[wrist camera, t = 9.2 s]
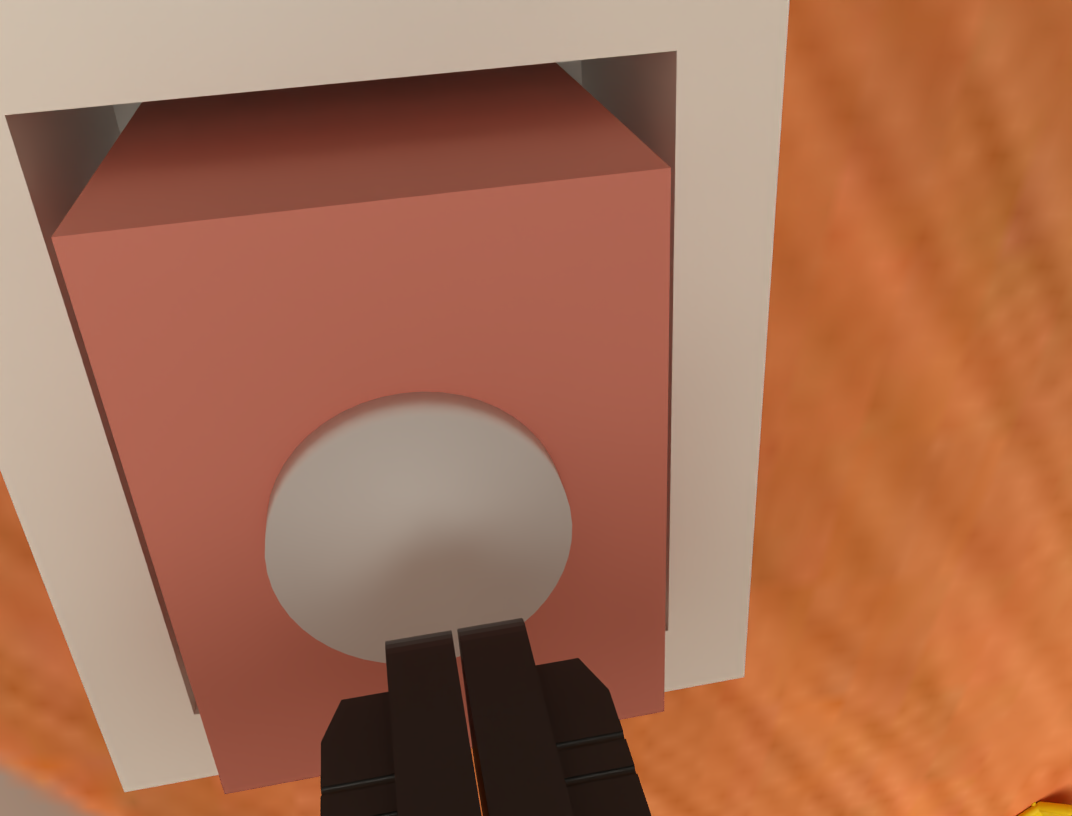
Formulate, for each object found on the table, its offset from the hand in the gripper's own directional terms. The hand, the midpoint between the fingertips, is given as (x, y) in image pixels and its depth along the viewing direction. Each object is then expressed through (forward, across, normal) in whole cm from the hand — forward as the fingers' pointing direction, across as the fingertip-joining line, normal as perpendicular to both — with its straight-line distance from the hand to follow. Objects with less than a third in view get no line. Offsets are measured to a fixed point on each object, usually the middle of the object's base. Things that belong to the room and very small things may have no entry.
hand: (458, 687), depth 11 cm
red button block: (+10, 0, 0) cm, 10 cm away
